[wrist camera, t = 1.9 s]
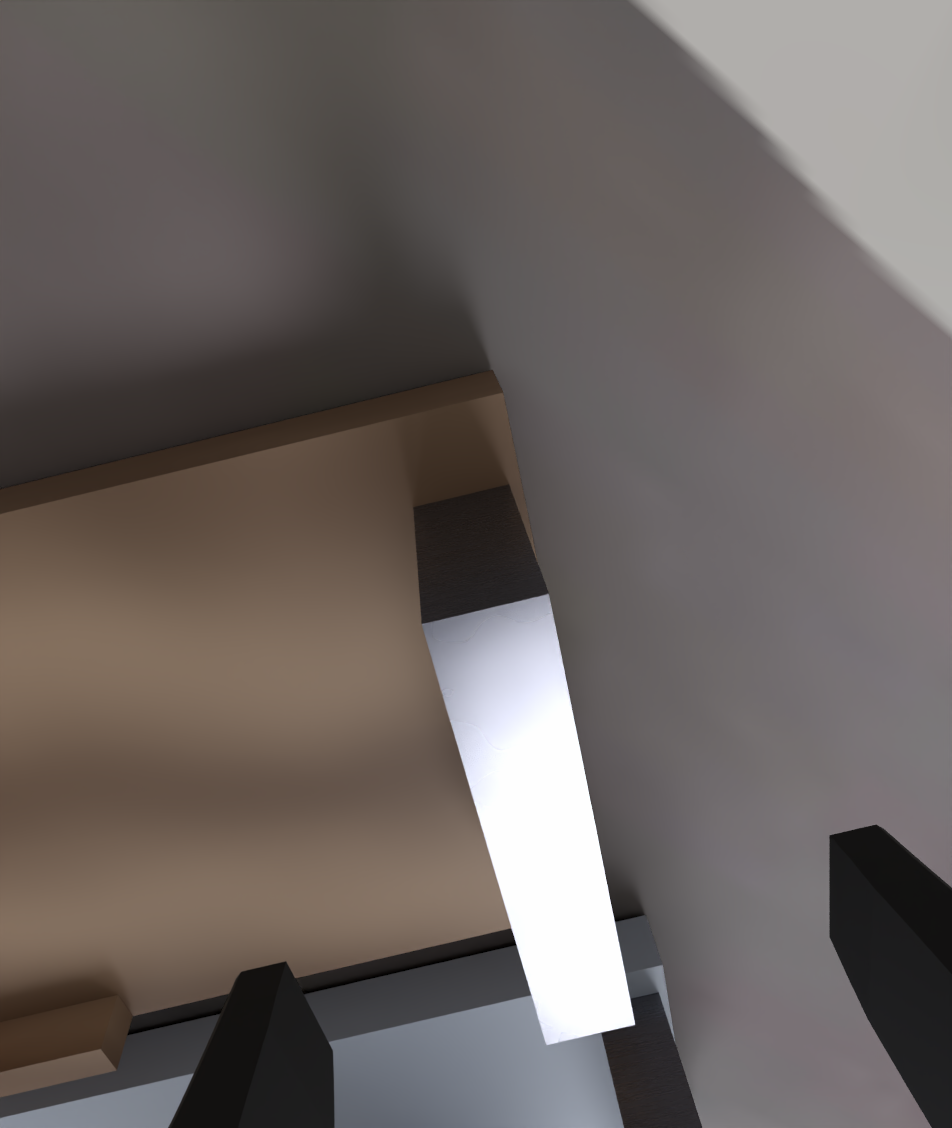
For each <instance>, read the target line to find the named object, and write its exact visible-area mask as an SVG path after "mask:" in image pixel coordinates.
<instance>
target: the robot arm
mask: <svg viewBox="0 0 952 1128" xmlns="http://www.w3.org/2000/svg"><path fill="white" fill-rule="evenodd" d="M830 939H831V941H832V943H833V945H834V947H835V950H836V952H837V954H838V956H839V958H840V961H841V963H842V965H843V967H844V969H845V972H846V974H847V976H848V978H849V980H850V983H851V985H852V987H853V989H854V991H855V993H856V995H857V997H858V999H859V1001H860V1003H861V1006H862V1008H863V1010H864V1012H865V1014H866V1016H867V1018H868V1020H869V1022H870V1024H871V1025H872V1027H873V1029H874V1030H875V1032H876V1034H877V1036H878V1037H879V1039H880V1041H881V1043H882V1044H883V1046H884V1048H885V1049H886V1051H887V1053H888V1054H889V1056H890V1058H891V1060H892V1061H893V1063H894V1065H895V1066H896V1068H897V1070H898V1071H899V1073H900V1075H901V1076H902V1078H903V1080H904V1082H905V1083H906V1085H907V1087H908V1088H909V1090H910V1092H911V1093H912V1095H913V1097H914V1098H915V1100H916V1102H917V1104H918V1105H919V1107H920V1109H921V1110H922V1112H923V1114H924V1115H925V1117H926V1119H927V1120H928V1122H929V1124H930V1125H931V1127H932V1128H952V888H951V887H950V886H949V885H948V884H947V883H945V882H944V881H943V880H942V879H941V878H940V877H938V876H937V875H936V874H935V873H934V872H933V871H931V870H930V869H929V868H928V867H927V866H926V865H924V864H923V863H922V862H921V861H920V860H919V859H918V858H916V857H915V856H914V855H913V854H912V853H911V852H909V851H908V850H907V849H906V848H905V847H904V846H903V845H901V844H900V843H899V842H898V841H897V840H896V839H895V838H894V837H892V836H891V835H890V834H889V833H888V832H887V831H886V830H884V829H883V828H881V827H879V826H878V825H872V826H868V827H864V828H859V829H855V830H851V831H847V832H842V833H838V834H834V835H830ZM168 1128H335V1118H334V1066H333V1050H332V1048H331V1046H330V1044H329V1042H328V1040H327V1038H326V1036H325V1034H324V1032H323V1030H322V1029H321V1027H320V1025H319V1023H318V1021H317V1019H316V1017H315V1015H314V1013H313V1011H312V1009H311V1008H310V1006H309V1004H308V1002H307V1000H306V998H305V996H304V994H303V992H302V990H301V988H300V987H299V985H298V983H297V981H296V979H295V977H294V975H293V973H292V971H291V969H290V967H289V966H288V964H287V962H286V961H285V962H280V963H276V964H272V965H268V966H263V967H259V968H255V969H250V970H246V971H242V972H240V974H239V975H238V976H237V978H236V979H235V982H234V984H233V986H232V989H231V991H230V993H229V995H228V998H227V1000H226V1002H225V1005H224V1007H223V1009H222V1012H221V1014H220V1016H219V1018H218V1021H217V1023H216V1025H215V1028H214V1030H213V1032H212V1034H211V1037H210V1039H209V1041H208V1043H207V1046H206V1048H205V1050H204V1052H203V1054H202V1057H201V1059H200V1061H199V1063H198V1065H197V1068H196V1070H195V1072H194V1074H193V1076H192V1079H191V1081H190V1083H189V1085H188V1087H187V1089H186V1092H185V1094H184V1096H183V1098H182V1100H181V1102H180V1104H179V1107H178V1109H177V1111H176V1113H175V1115H174V1117H173V1119H172V1121H171V1123H170V1125H169V1127H168Z"/></svg>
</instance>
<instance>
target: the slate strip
mask: <svg viewBox="0 0 952 1128" xmlns="http://www.w3.org/2000/svg"><path fill="white" fill-rule="evenodd" d="M615 926H616V931H617V936H618V941H619V946H620V951H621V956H622V961H623V966H624V971H625V976H626V981H627V986H628V991H629V996H630V1001H631V1006H632V1011H633V1016H634V1021H635V1025H632V1026H627V1027H623V1028H619V1029H614V1030H610V1031H606V1032H601V1033H597V1034H593V1035H588V1036H584V1037H579V1038H575V1039H571V1040H566V1041H562V1042H558V1043H553V1044H549V1045H546V1042H545V1039H544V1035H543V1032H542V1029H541V1025H540V1022H539V1019H538V1015H537V1012H536V1008H535V1005H534V1002H533V998H532V995H531V992H530V988H529V985H528V981H527V978H526V975H525V971H524V968H523V965H522V961H521V958H520V955H519V951H518V948H517V945H515V946H511V947H506V948H502V949H498V950H493V951H489V952H485V953H480V954H476V955H472V956H467V957H463V958H459V959H455V960H450V961H446V962H442V963H437V964H433V965H429V966H424V967H420V968H416V969H411V970H407V971H403V972H399V973H394V974H390V975H386V976H381V977H377V978H373V979H368V980H364V981H360V982H355V983H351V984H347V985H343V986H338V987H334V988H330V989H325V990H321V991H317V992H312V993H308V994H304V996H305V998H306V1000H307V1002H308V1004H309V1006H310V1008H311V1009H312V1011H313V1013H314V1015H315V1017H316V1019H317V1021H318V1023H319V1025H320V1027H321V1029H322V1030H323V1032H324V1034H325V1036H326V1038H327V1040H328V1042H329V1044H330V1046H331V1048H332V1050H333V1066H334V1118H335V1128H702V1125H701V1122H700V1119H699V1116H698V1113H697V1110H696V1106H695V1103H694V1100H693V1097H692V1094H691V1091H690V1088H689V1085H688V1082H687V1078H686V1075H685V1072H684V1069H683V1066H682V1063H681V1060H680V1057H679V1054H678V1050H677V1047H676V1044H675V1038H674V1031H673V1025H672V1019H671V1013H670V1007H669V1001H668V995H667V989H666V982H665V976H664V970H663V964H662V962H661V959H660V956H659V953H658V950H657V947H656V944H655V941H654V938H653V935H652V932H651V929H650V926H649V923H648V920H647V917H646V915H644V916H640V917H635V918H631V919H627V920H623V921H618V922H615ZM219 1016H220V1014H218V1015H213V1016H209V1017H205V1018H200V1019H196V1020H192V1021H187V1022H183V1023H179V1024H175V1025H170V1026H166V1027H162V1028H157V1029H153V1030H149V1031H144V1032H140V1033H136V1034H131V1035H127V1038H126V1041H125V1045H124V1048H123V1051H122V1055H121V1058H120V1062H119V1065H118V1068H117V1071H112V1072H108V1073H104V1074H100V1075H95V1076H91V1077H87V1078H82V1079H78V1080H74V1081H69V1082H65V1083H61V1084H56V1085H52V1086H48V1087H43V1088H39V1089H35V1090H30V1091H26V1092H22V1093H17V1094H13V1095H9V1096H5V1097H0V1128H168V1127H169V1125H170V1123H171V1121H172V1119H173V1117H174V1115H175V1113H176V1111H177V1109H178V1107H179V1104H180V1102H181V1100H182V1098H183V1096H184V1094H185V1092H186V1089H187V1087H188V1085H189V1083H190V1081H191V1079H192V1076H193V1074H194V1072H195V1070H196V1068H197V1065H198V1063H199V1061H200V1059H201V1057H202V1054H203V1052H204V1050H205V1048H206V1046H207V1043H208V1041H209V1039H210V1037H211V1034H212V1032H213V1030H214V1028H215V1025H216V1023H217V1021H218V1018H219Z"/></svg>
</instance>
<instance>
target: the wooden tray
mask: <svg viewBox="0 0 952 1128" xmlns="http://www.w3.org/2000/svg"><path fill="white" fill-rule="evenodd" d="M510 928H512V931H513V934H514V938H515V941H516V944H517V948H518V951H519V955H520V958H521V961H522V965H523V968H524V971H525V975H526V978H527V981H528V985H529V988H530V992H531V995H532V998H533V1002H534V1005H535V1008H536V1012H537V1015H538V1019H539V1022H540V1025H541V1029H542V1032H543V1035H544V1039H545V1042H546V1045H549V1044H553V1043H558V1042H562V1041H566V1040H571V1039H575V1038H579V1037H584V1036H588V1035H593V1034H597V1033H601V1032H606V1031H610V1030H614V1029H619V1028H623V1027H627V1026H632V1025H635V1021H634V1016H633V1011H632V1006H631V1001H630V996H629V991H628V986H627V981H626V976H625V971H624V966H623V961H622V956H621V951H620V946H619V941H618V936H617V931H616V926H615V921H614V916H613V911H612V906H611V901H610V896H609V891H608V886H607V881H606V876H605V871H604V866H603V861H602V856H601V851H600V846H599V841H598V836H597V831H596V826H595V821H594V816H593V811H592V806H591V802H590V797H589V792H588V787H587V782H586V777H585V772H584V767H583V762H582V757H581V752H580V747H579V742H578V737H577V732H576V727H575V722H574V717H573V712H572V707H571V702H570V697H569V692H568V687H567V682H566V677H565V672H564V667H563V662H562V657H561V652H560V647H559V642H558V637H557V632H556V627H555V622H554V617H553V612H552V607H551V602H550V597H549V593H548V590H547V587H546V585H545V582H544V579H543V576H542V574H541V571H540V568H539V565H538V561H537V556H536V551H535V546H534V541H533V536H532V532H531V527H530V522H529V517H528V512H527V507H526V502H525V497H524V492H523V487H522V482H521V478H520V473H519V468H518V463H517V458H516V453H515V448H514V443H513V438H512V433H511V429H510V424H509V419H508V414H507V409H506V404H505V399H504V394H503V391H502V389H501V387H500V385H499V383H498V380H497V378H496V376H495V374H494V372H493V370H490V371H486V372H482V373H478V374H474V375H469V376H465V377H461V378H457V379H453V380H449V381H445V382H441V383H436V384H432V385H428V386H424V387H420V388H416V389H412V390H408V391H403V392H399V393H395V394H391V395H387V396H383V397H379V398H375V399H370V400H366V401H362V402H358V403H354V404H350V405H346V406H342V407H337V408H333V409H329V410H325V411H321V412H317V413H313V414H309V415H304V416H300V417H296V418H292V419H288V420H284V421H280V422H276V423H271V424H267V425H263V426H259V427H255V428H251V429H247V430H242V431H238V432H234V433H230V434H226V435H222V436H218V437H214V438H209V439H205V440H201V441H197V442H193V443H189V444H185V445H181V446H176V447H172V448H168V449H164V450H160V451H156V452H152V453H148V454H143V455H139V456H135V457H131V458H127V459H123V460H119V461H115V462H110V463H106V464H102V465H98V466H94V467H90V468H86V469H82V470H77V471H73V472H69V473H65V474H61V475H57V476H53V477H49V478H44V479H40V480H36V481H32V482H28V483H24V484H20V485H15V486H11V487H7V488H3V489H0V1097H5V1096H9V1095H13V1094H17V1093H22V1092H26V1091H30V1090H35V1089H39V1088H43V1087H48V1086H52V1085H56V1084H61V1083H65V1082H69V1081H74V1080H78V1079H82V1078H87V1077H91V1076H95V1075H100V1074H104V1073H108V1072H112V1071H117V1068H118V1065H119V1062H120V1058H121V1055H122V1051H123V1048H124V1045H125V1041H126V1038H127V1034H128V1031H129V1027H130V1024H131V1021H132V1017H133V1016H136V1015H140V1014H144V1013H149V1012H153V1011H157V1010H162V1009H166V1008H170V1007H175V1006H179V1005H183V1004H187V1003H192V1002H196V1001H200V1000H205V999H209V998H213V997H218V996H222V995H226V994H229V993H230V991H231V989H232V986H233V984H234V982H235V979H236V978H237V976H238V975H239V974H240V972H242V971H246V970H250V969H255V968H259V967H263V966H268V965H272V964H276V963H280V962H285V961H286V962H287V964H288V966H289V967H290V969H291V971H292V973H293V975H294V977H295V978H299V977H304V976H308V975H312V974H317V973H321V972H325V971H329V970H334V969H338V968H342V967H347V966H351V965H355V964H360V963H364V962H368V961H372V960H377V959H381V958H385V957H390V956H394V955H398V954H403V953H407V952H411V951H416V950H420V949H424V948H428V947H433V946H437V945H441V944H446V943H450V942H454V941H459V940H463V939H467V938H471V937H476V936H480V935H484V934H489V933H493V932H497V931H502V930H506V929H510Z"/></svg>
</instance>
